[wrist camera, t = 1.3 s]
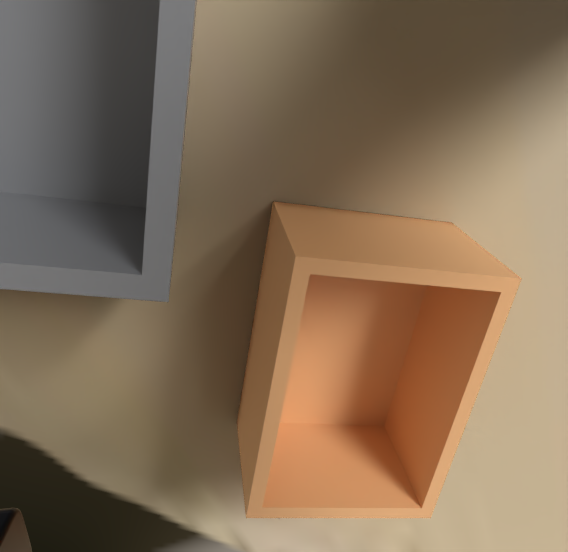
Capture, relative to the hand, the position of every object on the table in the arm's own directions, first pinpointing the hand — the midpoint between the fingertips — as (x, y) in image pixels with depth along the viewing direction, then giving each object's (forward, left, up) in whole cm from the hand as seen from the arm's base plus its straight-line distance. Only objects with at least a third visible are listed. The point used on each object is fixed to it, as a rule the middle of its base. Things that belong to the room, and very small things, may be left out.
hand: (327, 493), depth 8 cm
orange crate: (-4, +4, -12) cm, 14 cm away
